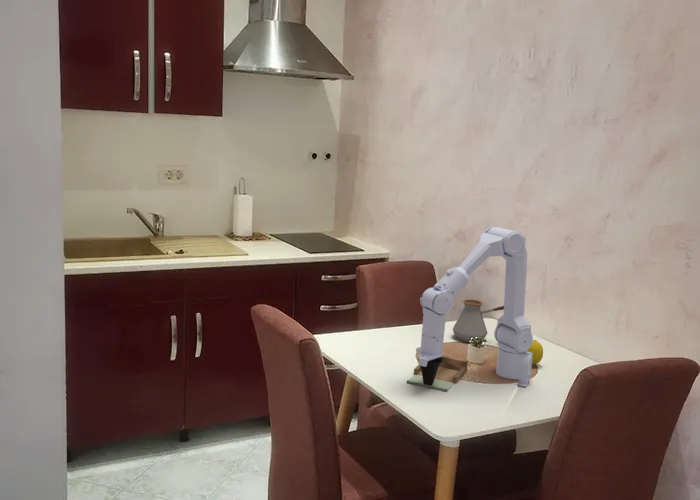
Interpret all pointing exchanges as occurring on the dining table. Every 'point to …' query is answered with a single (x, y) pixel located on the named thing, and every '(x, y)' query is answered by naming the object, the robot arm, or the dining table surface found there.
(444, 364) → the tray
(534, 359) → the lemon
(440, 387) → the panel
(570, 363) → the dining table surface
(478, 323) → the coffee pot
